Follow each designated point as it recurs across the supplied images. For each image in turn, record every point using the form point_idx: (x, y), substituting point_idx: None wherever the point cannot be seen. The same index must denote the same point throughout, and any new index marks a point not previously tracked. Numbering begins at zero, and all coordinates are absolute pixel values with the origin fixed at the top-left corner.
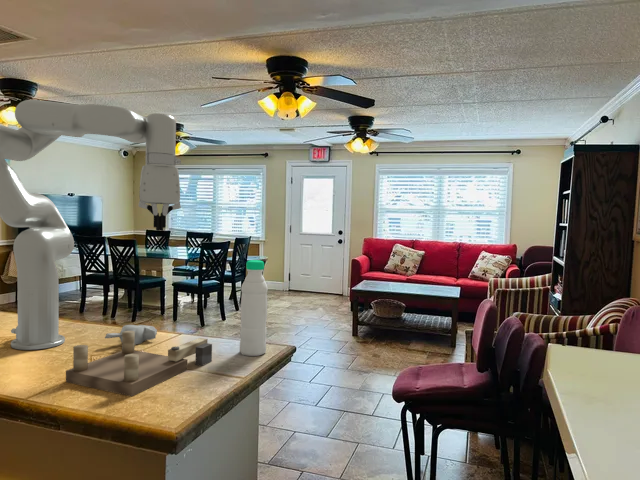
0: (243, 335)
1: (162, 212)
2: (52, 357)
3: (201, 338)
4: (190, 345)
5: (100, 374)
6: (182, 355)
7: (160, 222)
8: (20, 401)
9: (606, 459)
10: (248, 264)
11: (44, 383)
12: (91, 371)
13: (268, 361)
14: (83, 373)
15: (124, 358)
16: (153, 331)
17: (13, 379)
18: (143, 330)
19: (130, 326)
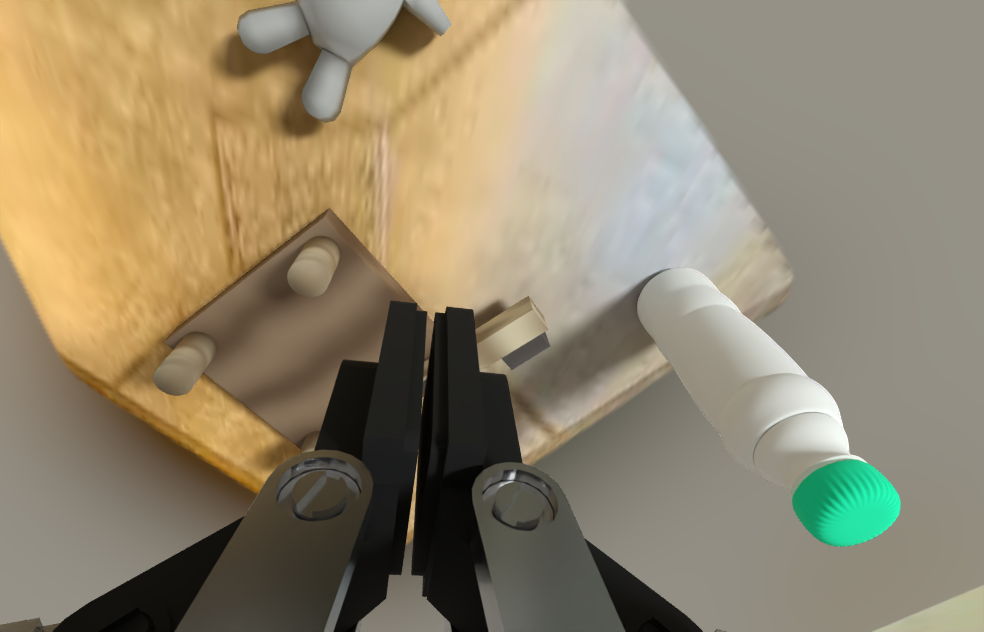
0: (656, 340)
1: (450, 624)
2: (74, 78)
3: (535, 317)
4: (480, 369)
5: (253, 394)
6: None
7: (416, 496)
8: (107, 396)
9: None
10: (804, 521)
11: (126, 316)
12: (229, 369)
13: (661, 371)
14: (212, 376)
15: None
16: (439, 30)
17: (30, 258)
18: (398, 10)
19: (337, 4)
